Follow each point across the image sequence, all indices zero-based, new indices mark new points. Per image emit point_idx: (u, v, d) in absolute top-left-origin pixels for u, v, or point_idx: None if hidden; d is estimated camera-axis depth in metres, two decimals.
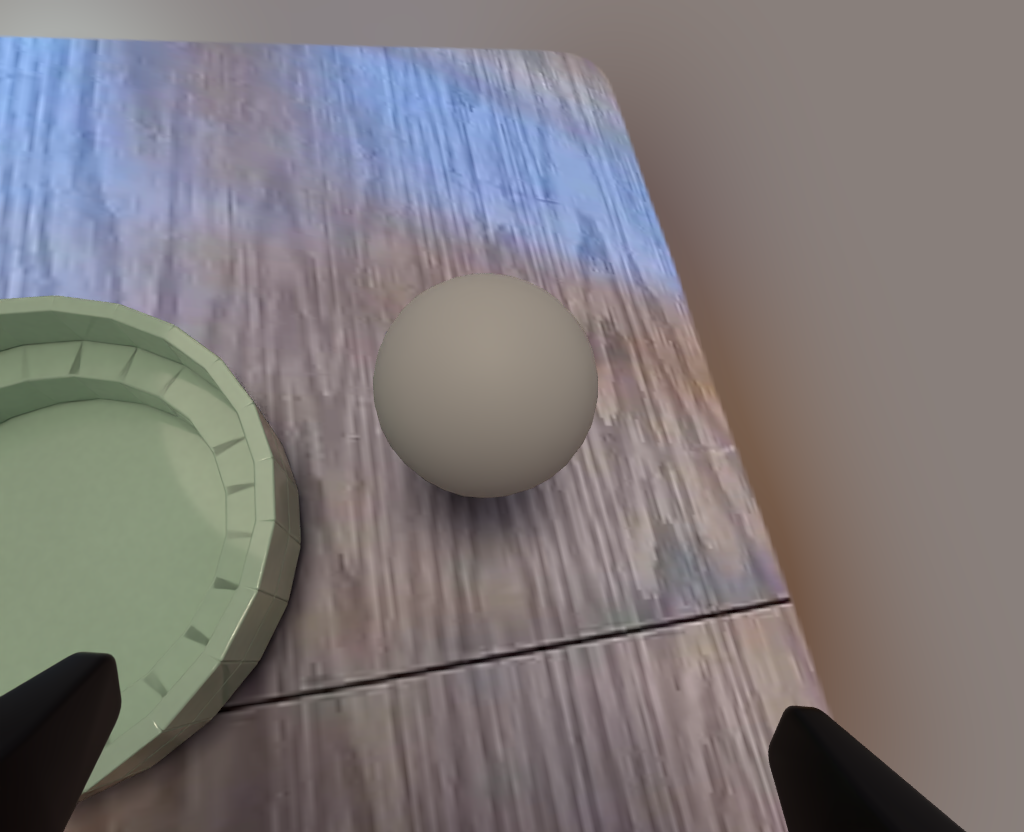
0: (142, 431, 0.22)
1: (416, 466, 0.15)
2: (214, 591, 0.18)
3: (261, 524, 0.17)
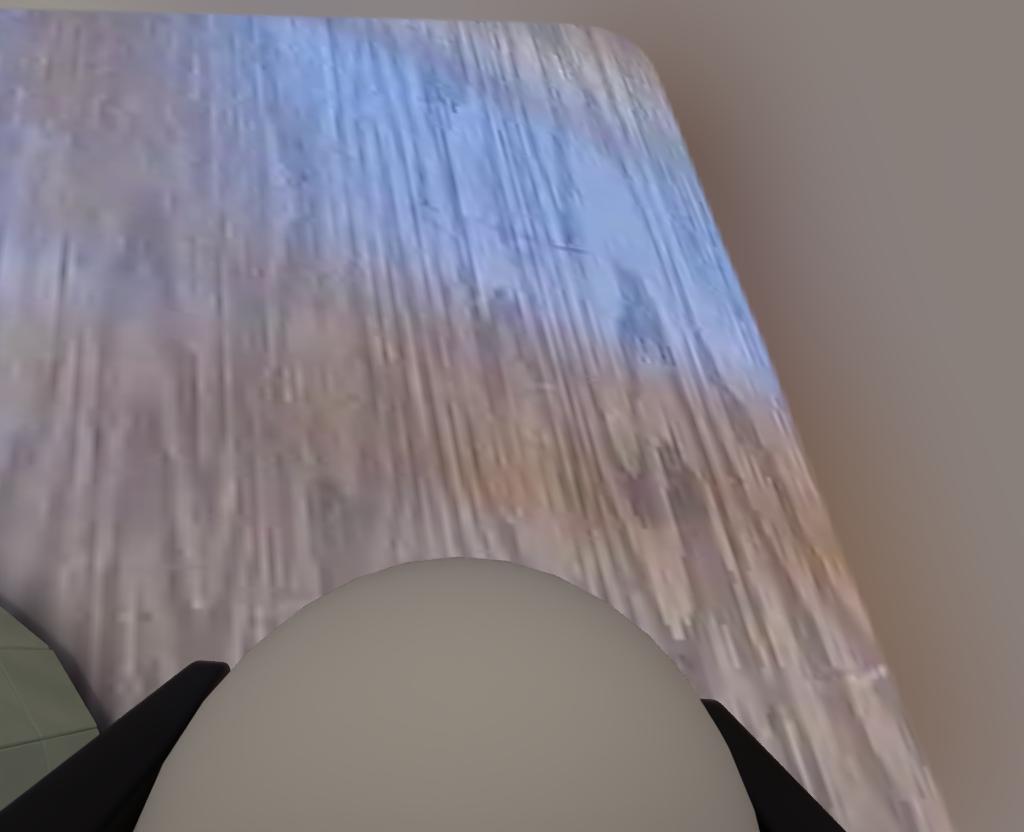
0: None
1: None
2: None
3: None
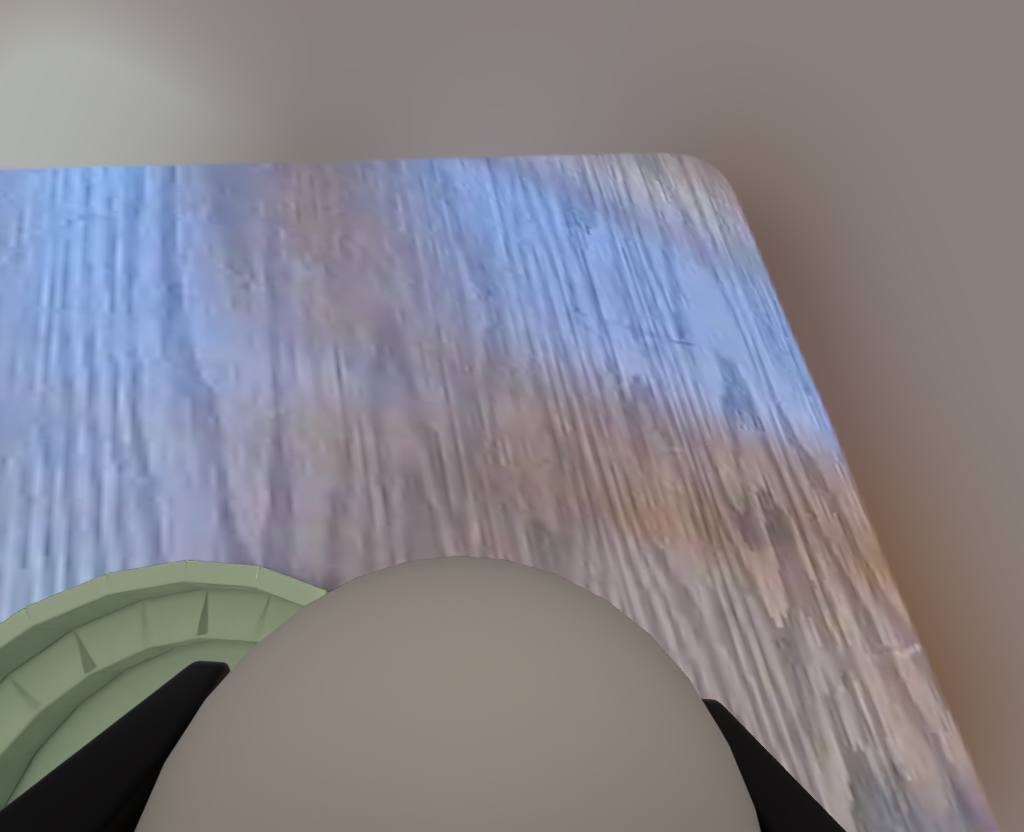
0: None
1: None
2: None
3: None
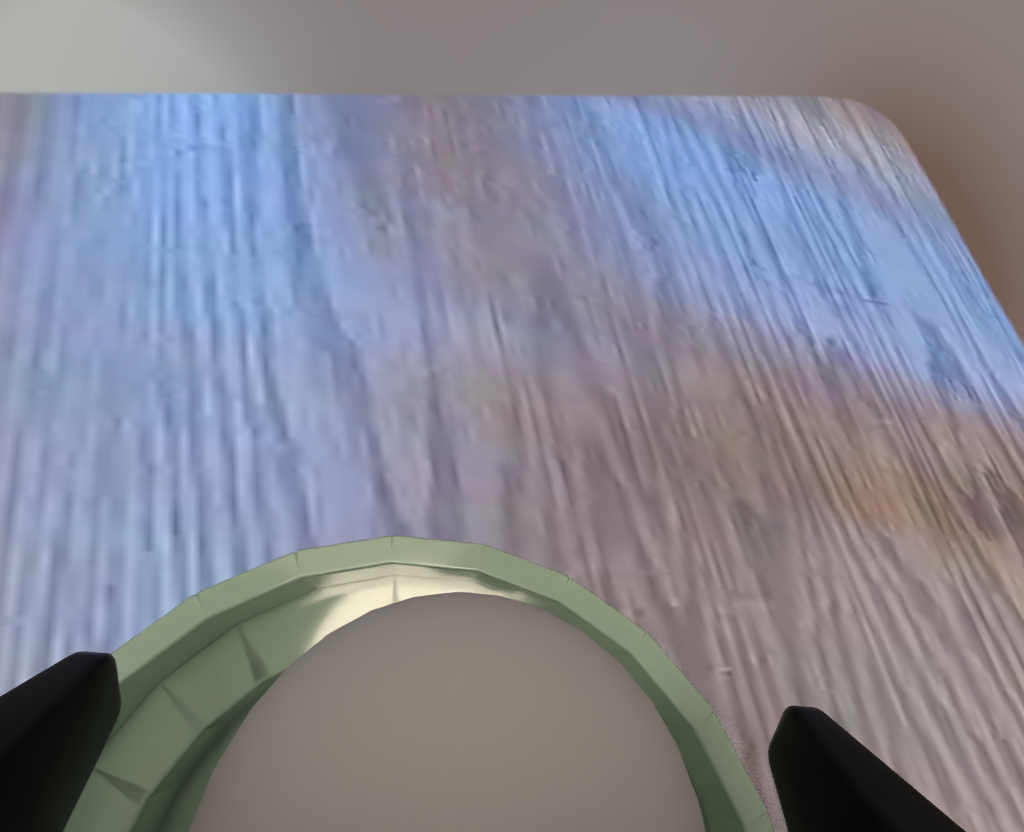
0: None
1: None
2: None
3: None
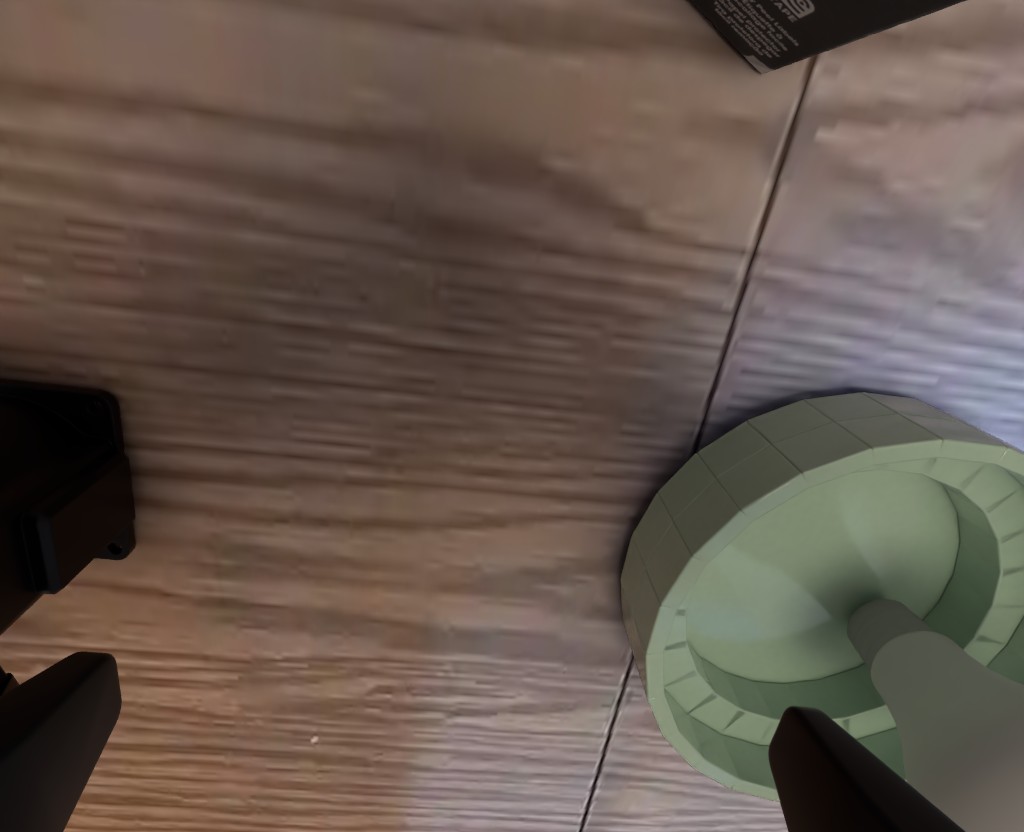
0: None
1: (1014, 756, 0.15)
2: (735, 709, 0.23)
3: (776, 794, 0.22)
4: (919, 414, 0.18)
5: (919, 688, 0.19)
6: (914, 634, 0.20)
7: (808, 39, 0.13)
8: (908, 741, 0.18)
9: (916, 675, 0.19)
